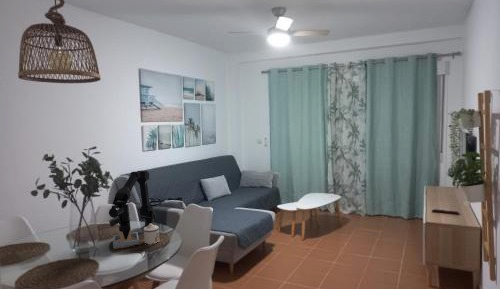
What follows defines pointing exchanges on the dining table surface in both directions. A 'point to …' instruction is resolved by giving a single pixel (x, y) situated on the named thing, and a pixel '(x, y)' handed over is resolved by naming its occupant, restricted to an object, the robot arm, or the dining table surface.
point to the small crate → (124, 238)
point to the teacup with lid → (151, 234)
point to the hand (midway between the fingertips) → (125, 237)
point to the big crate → (126, 241)
